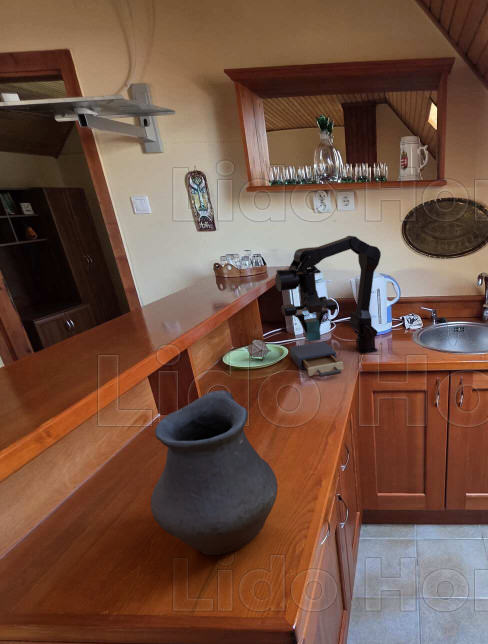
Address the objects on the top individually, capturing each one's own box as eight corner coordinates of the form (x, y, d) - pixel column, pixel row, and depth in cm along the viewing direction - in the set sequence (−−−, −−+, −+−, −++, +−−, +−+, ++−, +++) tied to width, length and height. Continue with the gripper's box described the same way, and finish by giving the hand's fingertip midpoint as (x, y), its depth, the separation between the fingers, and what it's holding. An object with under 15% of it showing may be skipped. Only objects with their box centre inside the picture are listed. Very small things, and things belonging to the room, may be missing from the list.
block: (316, 336, 155) (315, 317, 152) (320, 339, 151) (319, 320, 148) (305, 338, 153) (303, 319, 150) (308, 341, 149) (306, 322, 146)
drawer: (348, 374, 142) (348, 367, 141) (313, 381, 137) (312, 373, 136) (332, 358, 156) (331, 351, 155) (299, 364, 151) (298, 357, 150)
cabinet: (336, 363, 154) (335, 351, 152) (300, 369, 149) (299, 358, 147) (325, 351, 165) (324, 341, 164) (291, 357, 160) (289, 346, 158)
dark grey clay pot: (143, 583, 67) (96, 451, 57) (193, 495, 87) (164, 385, 77) (273, 575, 68) (249, 443, 58) (292, 489, 88) (277, 380, 77)
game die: (266, 367, 162) (279, 347, 159) (250, 367, 154) (264, 345, 151) (251, 352, 164) (264, 332, 162) (236, 352, 157) (249, 330, 154)
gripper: (286, 294, 134) (292, 341, 140) (341, 288, 141) (344, 332, 148) (278, 288, 143) (284, 332, 150) (330, 283, 150) (333, 325, 157)
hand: (312, 331), depth 151 cm, fingers closed on block, 4 cm apart
